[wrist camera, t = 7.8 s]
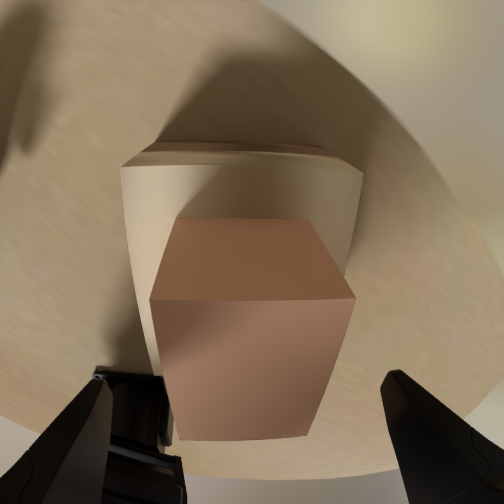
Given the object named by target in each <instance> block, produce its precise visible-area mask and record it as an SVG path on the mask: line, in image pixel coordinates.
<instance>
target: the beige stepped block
mask: <svg viewBox="0 0 504 504" xmlns="http://www.w3.org/2000/svg"><path fill="white" fill-rule="evenodd" d="M120 173H121V186H122V197H123V207H124V217H125V225H126V233H127V241H128V248H129V255H130V262H131V268H132V274H133V280H134V286H135V292H136V297H137V302H138V308H139V313H140V318H141V322H142V327H143V332H144V336H145V341H146V345H147V349H148V353H149V357H150V361H151V365H152V369H153V373H154V376H163V372H162V367H161V362H160V357H159V353H158V348H157V342H156V337H155V332H154V326H153V320H152V315H151V309H150V302H149V298H150V295H151V291H152V288H153V285H154V281H155V278H156V275H157V272H158V269H159V266H160V262H161V259H162V256H163V253H164V250H165V247H166V244H167V241H168V238H169V236H170V233H171V230H172V227H173V224H174V221H175V218H251V219H288V220H309V222H310V223H311V225H312V226H313V228H314V229H315V231H316V233H317V234H318V236H319V237H320V239H321V241H322V242H323V244H324V245H325V247H326V249H327V250H328V252H329V254H330V255H331V257H332V258H333V260H334V262H335V263H336V265H337V267H338V268H339V270H340V272H341V273H342V275H343V277H344V274H345V270H346V265H347V261H348V256H349V252H350V247H351V242H352V237H353V232H354V227H355V222H356V217H357V211H358V206H359V200H360V194H361V188H362V182H363V176H364V173H362V172H361V171H359V170H358V169H356V168H354V167H353V166H351V165H350V164H348V163H346V162H345V161H343V160H341V159H340V158H338V157H336V156H335V155H333V154H331V153H330V152H328V151H326V150H324V149H323V148H321V147H318V146H307V145H294V144H279V143H260V142H228V141H182V142H154V143H153V144H151V145H150V146H148V147H147V148H146V149H144V150H143V151H141V152H140V153H139V154H137V155H136V156H135V157H133V158H132V159H130V160H129V161H128V162H126V163H125V164H124V165H123V166H121V167H120Z"/></svg>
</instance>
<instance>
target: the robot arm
mask: <svg viewBox="0 0 504 504" xmlns="http://www.w3.org/2000/svg"><path fill="white" fill-rule="evenodd" d="M380 392H381V397H382V402H383V407H384V412H385V417H386V422H387V427H388V431H389V434H390V437H391V441H392V444H393V447H394V451H395V454H396V457H397V461H398V464H399V468H400V471H401V475H402V478H403V482H404V486H405V489H406V493H407V497H408V501H409V504H504V450H503V449H502V448H500V447H499V446H497V445H496V444H494V443H493V442H491V441H490V440H488V439H487V438H486V437H484V436H483V435H482V434H480V433H479V432H478V431H476V430H475V429H474V428H473V427H471V426H470V425H469V424H468V423H466V422H465V421H464V420H463V419H461V418H460V417H459V416H458V415H457V414H455V413H454V412H453V411H452V410H450V409H449V408H448V407H447V406H445V405H444V404H443V403H442V402H440V401H439V400H438V399H437V398H435V397H434V396H433V395H432V394H430V393H429V392H428V391H427V390H425V389H424V388H423V387H422V386H420V385H419V384H418V383H417V382H416V381H414V380H413V379H412V378H411V377H409V376H408V375H407V374H406V373H404V372H403V371H402V370H399V369H397V370H392V371H389V372H388V373H387V375H386V377H385V379H384V381H383V383H382V384H381V388H380ZM173 421H174V417H173V414H172V410H171V406H170V402H169V398H168V394H167V392H166V388H165V384H164V380H163V378H162V377H159V376H149V375H135V374H123V373H113V372H103V371H94V373H93V379H91V380H90V381H89V383H88V384H87V385H86V386H85V387H84V388H83V389H82V390H81V391H80V392H79V393H78V394H77V396H76V397H75V398H74V399H73V400H72V401H71V402H70V403H69V404H68V405H67V406H66V407H65V409H64V410H63V411H62V412H61V413H60V414H59V415H58V416H57V417H56V418H55V420H54V421H53V422H52V423H51V424H50V425H49V426H48V427H47V428H46V430H45V431H44V432H43V433H42V434H41V435H40V436H39V437H38V439H37V440H36V441H35V442H34V443H33V444H32V446H30V448H29V450H27V451H26V452H25V453H24V454H23V455H22V457H21V458H20V459H19V460H18V461H17V462H16V463H15V464H14V465H13V466H12V467H11V468H10V469H9V470H8V471H7V472H6V473H5V474H4V475H3V476H2V477H0V504H187V492H186V486H185V480H184V474H183V468H182V461H181V457H179V456H175V455H174V456H171V455H167V454H165V446H168V447H169V446H171V445H172V434H173Z"/></svg>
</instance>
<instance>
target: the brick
mask: <svg viewBox="0 0 504 504" xmlns="http://www.w3.org/2000/svg"><path fill="white" fill-rule="evenodd" d="M355 301H356V297H355V295H354V294H353V292H352V290H351V289H350V287H349V285H348V283H347V282H346V280H345V278H344V277H343V275H342V273H341V272H340V270H339V268H338V267H337V265H336V263H335V262H334V260H333V258H332V257H331V255H330V254H329V252H328V250H327V249H326V247H325V245H324V244H323V242H322V241H321V239H320V237H319V236H318V234H317V233H316V231H315V229H314V228H313V226H312V225H311V223H310V222H309V220H288V219H251V218H175V221H174V224H173V227H172V230H171V233H170V236H169V238H168V241H167V244H166V247H165V250H164V253H163V256H162V259H161V262H160V266H159V269H158V272H157V275H156V278H155V281H154V285H153V288H152V291H151V295H150V298H149V302H150V309H151V315H152V320H153V326H154V332H155V337H156V342H157V348H158V353H159V357H160V362H161V367H162V372H163V376H164V381H165V385H166V389H167V393H168V398H169V402H170V406H171V410H172V414H173V417H174V421H175V425H176V429H177V432H178V436H179V439H180V440H193V441H243V440H264V439H278V438H289V437H299V436H307V434H308V431H309V429H310V427H311V424H312V422H313V420H314V417H315V415H316V412H317V410H318V407H319V405H320V402H321V400H322V397H323V395H324V392H325V390H326V387H327V384H328V382H329V379H330V376H331V374H332V371H333V368H334V365H335V363H336V360H337V357H338V354H339V351H340V348H341V345H342V342H343V339H344V336H345V333H346V330H347V327H348V324H349V320H350V317H351V314H352V311H353V307H354V304H355Z"/></svg>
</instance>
